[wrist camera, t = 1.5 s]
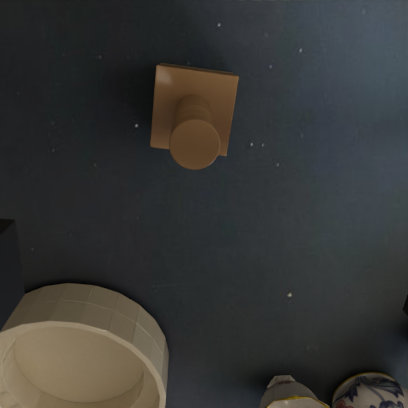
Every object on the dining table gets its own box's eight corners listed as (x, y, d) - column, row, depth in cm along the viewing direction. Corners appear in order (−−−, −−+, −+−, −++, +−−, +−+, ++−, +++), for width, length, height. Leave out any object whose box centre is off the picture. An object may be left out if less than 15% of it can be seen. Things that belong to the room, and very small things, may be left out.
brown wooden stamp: (160, 62, 31) (138, 74, 17) (232, 72, 31) (264, 91, 18) (154, 134, 33) (131, 193, 20) (221, 142, 34) (243, 206, 20)
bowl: (-13, 270, 38) (-51, 312, 32) (176, 287, 39) (174, 330, 33) (1, 405, 45) (-27, 460, 39) (160, 415, 47) (156, 469, 41)
